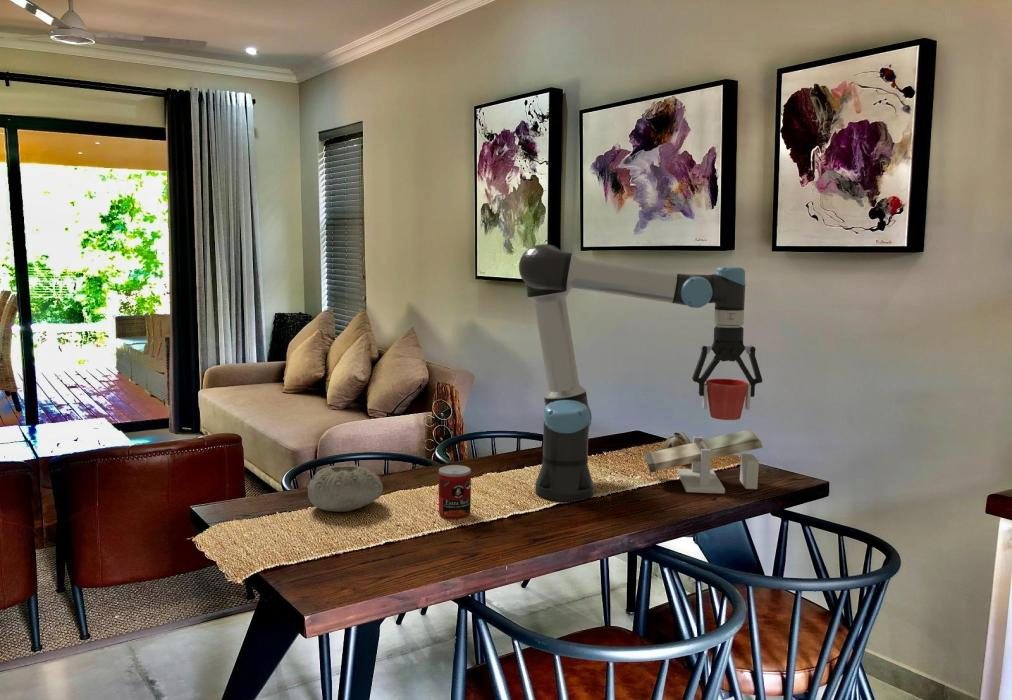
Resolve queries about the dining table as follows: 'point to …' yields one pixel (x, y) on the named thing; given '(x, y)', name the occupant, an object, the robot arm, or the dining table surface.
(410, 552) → the dining table surface
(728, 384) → the flower pot
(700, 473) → the stand
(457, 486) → the canned food
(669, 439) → the ceramic sculpture
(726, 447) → the beam
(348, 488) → the decorative shell
